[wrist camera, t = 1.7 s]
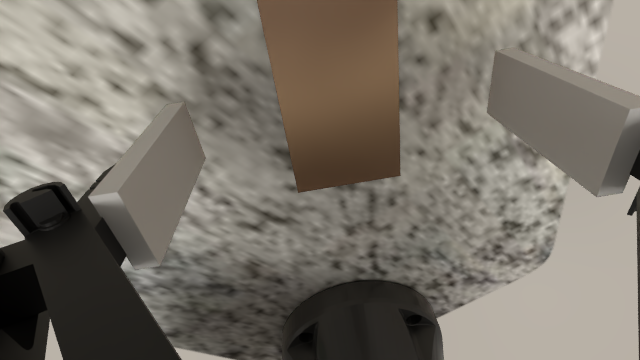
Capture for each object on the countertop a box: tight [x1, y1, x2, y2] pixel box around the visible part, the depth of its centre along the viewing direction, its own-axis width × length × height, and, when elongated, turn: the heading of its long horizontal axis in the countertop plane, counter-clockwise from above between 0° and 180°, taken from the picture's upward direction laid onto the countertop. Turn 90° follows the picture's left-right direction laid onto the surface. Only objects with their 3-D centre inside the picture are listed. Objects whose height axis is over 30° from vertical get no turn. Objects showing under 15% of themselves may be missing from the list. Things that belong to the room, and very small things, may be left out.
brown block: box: [257, 0, 400, 193], centre depth 13 cm, size 14×4×4 cm, turn 8°
